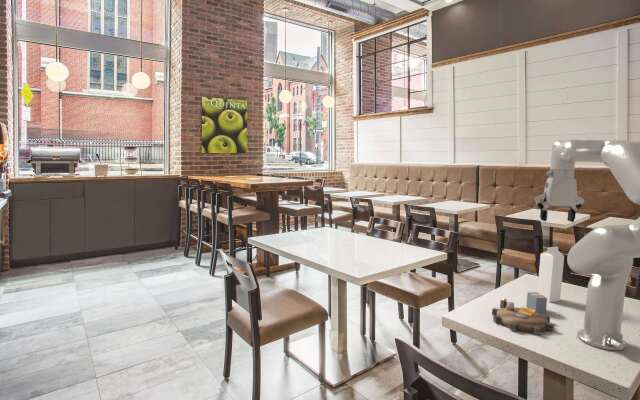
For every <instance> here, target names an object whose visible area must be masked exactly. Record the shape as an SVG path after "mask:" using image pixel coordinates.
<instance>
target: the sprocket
mask: <svg viewBox="0 0 640 400" xmlns="http://www.w3.org/2000/svg"><path fill="white" fill-rule="evenodd" d="M535 311H536V310H533V309H530V308H527V307H526V306H525V307H524V306H522V307H521V308H520V307H515V303H514V302H513V301H507V305H505V308H496V307H493V308H492V310H491V315H493V316H492V317H493V318H492V321H493V322H494V323H496V324H498V323H499V324H502V325H504V326H506V327H508V328H510V329H509V330H510V331H512V332H516V331H517V330H518V331H522V332H527V333H528V332H529V333H533V334H534V335H535V336H536V335H538V336H539V335H541V332H544V331H550V332H553V331H554V330H555V329H554V328H555V324H554V323H551V317H550V315H548V314H542V313H537V312H535Z"/></svg>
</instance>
